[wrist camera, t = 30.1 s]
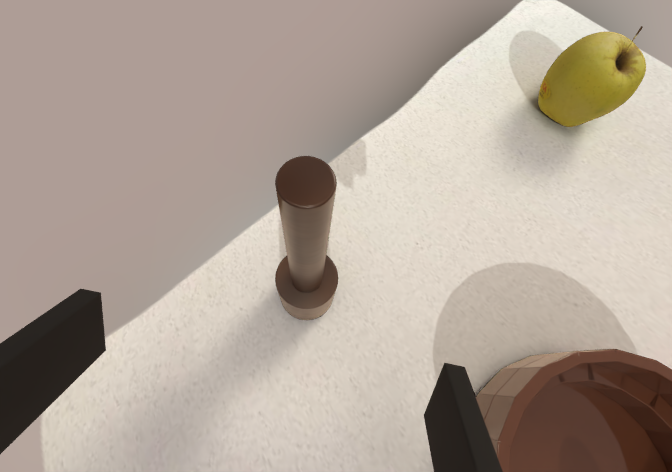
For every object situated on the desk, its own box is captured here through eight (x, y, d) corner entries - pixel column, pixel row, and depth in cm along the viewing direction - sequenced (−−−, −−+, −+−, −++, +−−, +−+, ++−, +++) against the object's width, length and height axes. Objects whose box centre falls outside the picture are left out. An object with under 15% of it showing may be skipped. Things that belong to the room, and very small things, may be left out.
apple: (517, 69, 39) (611, -14, 31) (568, 95, 42) (669, 26, 33) (522, 124, 36) (627, 51, 28) (576, 150, 39) (689, 89, 30)
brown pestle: (269, 297, 29) (216, 187, 12) (303, 258, 30) (298, 111, 14) (311, 331, 28) (315, 263, 11) (343, 289, 30) (390, 174, 13)
